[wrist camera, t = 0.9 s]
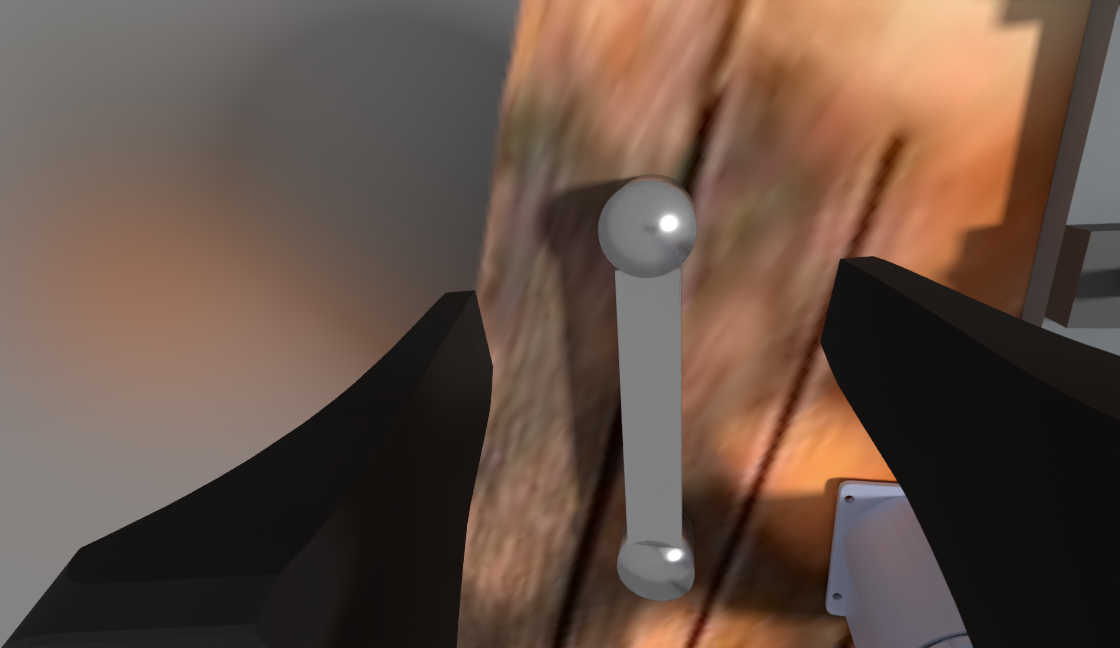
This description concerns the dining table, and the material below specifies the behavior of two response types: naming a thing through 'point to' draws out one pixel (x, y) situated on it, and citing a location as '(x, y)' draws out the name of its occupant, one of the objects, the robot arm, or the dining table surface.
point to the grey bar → (651, 379)
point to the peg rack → (1085, 201)
